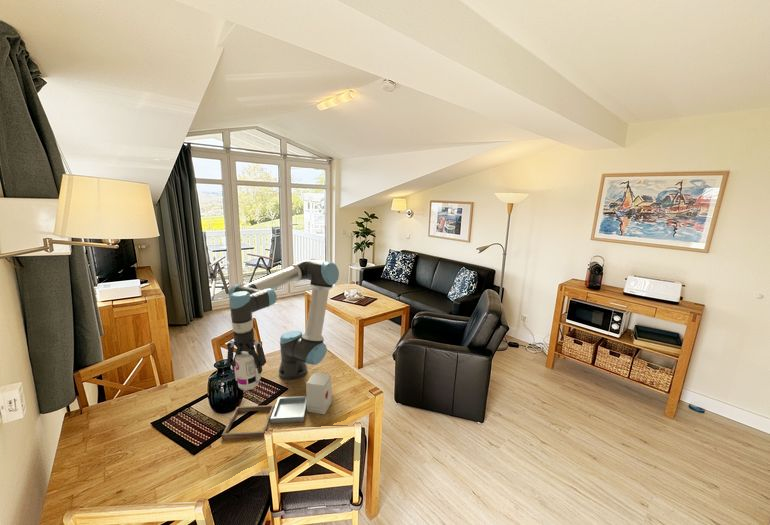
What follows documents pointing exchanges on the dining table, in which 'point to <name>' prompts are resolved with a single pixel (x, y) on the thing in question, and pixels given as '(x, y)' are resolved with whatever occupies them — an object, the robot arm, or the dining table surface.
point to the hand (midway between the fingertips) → (248, 379)
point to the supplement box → (318, 393)
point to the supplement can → (245, 371)
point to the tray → (289, 409)
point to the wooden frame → (247, 434)
